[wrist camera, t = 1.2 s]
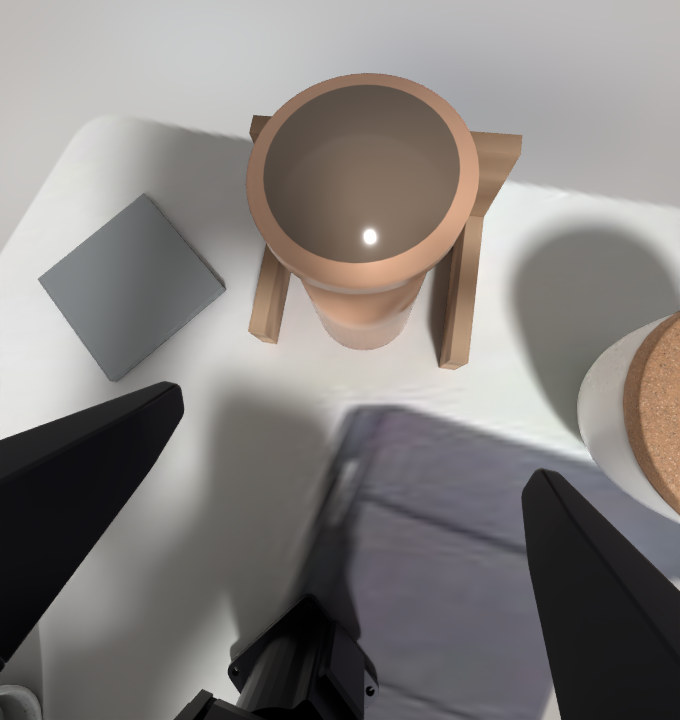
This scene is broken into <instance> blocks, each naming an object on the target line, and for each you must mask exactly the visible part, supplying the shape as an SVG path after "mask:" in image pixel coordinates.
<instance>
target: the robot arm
mask: <svg viewBox="0 0 680 720" xmlns="http://www.w3.org/2000/svg"><path fill="white" fill-rule="evenodd" d="M183 414H184V403H183V396H182V390H181V387H180V386H179V385H178V384H175V383H171V382H166V381H163V382H160V383H157V384H154V385H151V386H149V387H146V388H143V389H140V390H138V391H135V392H132V393H129V394H126V395H124V396H121V397H118V398H115V399H113V400H110V401H107V402H104V403H102V404H99V405H96V406H93V407H90V408H88V409H85V410H82V411H79V412H77V413H74V414H71V415H68V416H66V417H63V418H60V419H57V420H54V421H52V422H49V423H46V424H43V425H41V426H38V427H35V428H32V429H30V430H27V431H24V432H21V433H18V434H16V435H13V436H10V437H7V438H5V439H2V440H0V672H1V671H2V670H3V668H4V667H5V663H7V662H8V661H9V660H10V658H11V657H12V656H13V654H14V653H15V652H16V650H17V649H18V648H19V646H20V645H21V644H22V642H23V641H24V640H25V638H26V637H27V635H28V634H29V633H30V631H31V630H32V629H33V627H34V626H35V625H36V623H37V622H38V621H39V619H40V618H41V617H42V615H43V614H44V613H45V611H46V610H47V609H48V607H49V606H50V605H51V603H52V602H53V600H54V599H55V598H56V596H57V595H58V594H59V592H60V591H61V590H62V588H63V587H64V586H65V584H66V583H67V582H68V580H69V579H70V578H71V576H72V575H73V574H74V572H75V571H76V569H77V568H78V567H79V565H80V564H81V563H82V561H83V560H84V559H85V557H86V556H87V555H88V553H89V552H90V551H91V549H92V548H93V547H94V545H95V544H96V543H97V541H98V540H99V539H100V537H101V536H102V534H103V533H104V532H105V530H106V529H107V528H108V526H109V525H110V524H111V522H112V521H113V520H114V518H115V517H116V516H117V514H118V513H119V512H120V510H121V509H122V508H123V506H124V505H125V504H126V502H127V501H128V499H129V498H130V497H131V495H132V494H133V493H134V491H135V490H136V489H137V487H138V486H139V485H140V483H141V482H142V481H143V479H144V478H145V477H146V475H147V474H148V472H149V471H150V470H151V468H152V467H153V465H154V464H155V462H156V461H157V459H158V457H159V456H160V454H161V452H162V451H163V449H164V447H165V446H166V444H167V442H168V441H169V439H170V437H171V436H172V434H173V432H174V430H175V429H176V427H177V425H178V424H179V422H180V420H181V419H182V417H183ZM521 499H522V510H523V519H524V529H525V539H526V549H527V557H528V565H529V570H530V575H531V580H532V585H533V590H534V594H535V599H536V604H537V608H538V613H539V618H540V622H541V627H542V632H543V636H544V641H545V646H546V651H547V655H548V660H549V665H550V669H551V674H552V679H553V683H554V688H555V693H556V697H557V702H558V706H559V711H560V716H561V720H680V591H679V590H678V589H677V588H676V587H675V586H674V585H673V584H672V583H671V582H670V581H669V580H668V579H667V578H666V577H665V576H664V575H663V574H662V573H661V572H660V571H659V570H658V569H657V568H656V567H655V566H654V565H653V564H652V563H651V562H650V561H649V560H648V559H647V558H646V557H644V556H643V555H642V554H641V553H640V552H639V551H638V550H637V549H636V548H635V547H634V546H633V545H632V544H631V543H630V542H629V541H628V540H627V539H626V538H625V537H624V536H623V535H622V534H621V533H620V532H619V531H618V530H617V529H616V528H615V527H614V526H613V525H612V524H611V523H610V522H609V521H608V520H607V519H606V518H605V517H604V516H603V515H602V514H601V513H600V512H599V511H597V510H596V509H595V508H594V507H593V506H592V505H591V504H590V503H589V502H588V501H587V500H586V499H585V498H584V497H583V496H582V495H581V494H580V493H579V492H578V491H577V490H576V489H575V488H574V487H573V486H572V485H571V484H570V483H569V482H568V481H567V480H566V479H565V478H564V477H563V476H562V475H561V474H559V473H558V472H556V471H552V470H548V469H544V468H538V469H537V470H535V472H534V473H533V475H532V476H531V478H530V480H529V481H528V483H527V484H526V486H525V487H524V489H523V492H522V498H521ZM305 602H310V603H311V604H312V607H307V606H306V605H305ZM234 667H238V668H239V669H240V671H236V670H235V668H234ZM228 675H229V678H230V679H231V681H232V682H233V684H234V685H235V687H236V688H237V690H238V691H239V693H240V694H241V695H240V697H239V699H238V701H237V703H236V706H235V705H232V704H230V703H228V702H226V701H223V700H221V699H216V698H214V697H213V694H212V693H210V692H208V691H206V690H203V689H202V690H201V691H200V692H199V693H198V694H197V696H196V697H195V698H194V699H193V700H192V701H191V702H190V703H188V704H187V705H186V706H185V708H184V709H183V710H182V711H181V712H180V713H179V714H178V716H177V717H176V718H175V719H174V720H364V710H365V709H366V708H367V707H368V706H369V705H371V704H372V703H373V702H374V701H375V700H376V699H377V697H378V695H379V685H378V682H377V680H376V678H375V677H374V676H373V674H372V673H371V671H370V670H369V669H368V667H367V666H366V665H365V657H364V656H363V654H362V653H361V652H360V650H359V649H358V647H357V646H356V645H355V643H354V642H353V641H352V639H351V638H350V637H349V635H348V634H347V633H346V631H345V630H344V629H343V627H342V626H341V625H340V623H339V622H338V621H336V620H332V619H331V618H330V616H329V615H328V614H327V612H326V611H325V609H324V608H323V607H322V605H321V604H320V603H319V601H318V600H317V599H316V597H315V596H314V595H312V594H306V595H304V596H303V597H302V598H300V599H299V600H298V601H297V602H296V603H295V604H294V605H293V606H292V607H291V608H289V609H288V610H287V611H286V612H285V613H284V614H283V615H282V616H281V617H279V618H278V619H277V620H276V621H275V622H274V623H273V624H272V625H271V626H269V627H268V628H267V629H266V630H265V631H264V632H263V633H262V634H261V635H260V636H258V637H257V638H256V639H255V640H254V641H253V642H252V643H251V644H250V645H248V646H247V647H246V648H245V649H244V650H243V651H242V652H241V653H240V654H239V655H237V656H236V657H235V658H234V659H233V660H232V662H231V663H230V665H229V668H228ZM368 686H372V687H373V688H374V689H373V690H372V691H369V690H367V689H366V688H367V687H368Z"/></svg>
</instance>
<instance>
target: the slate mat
mask: <svg viewBox="0 0 680 720" xmlns="http://www.w3.org/2000/svg"><path fill="white" fill-rule="evenodd" d="M38 280H39V282H40V283H41V285H42V286H43V287H44V289H45V290H46V292H47V293H48V294H49V296H50V297H51V299H52V300H53V301H54V303H55V304H56V306H57V307H58V308H59V310H60V311H61V313H62V314H63V315H64V317H65V318H66V320H67V321H68V323H69V324H70V325H71V327H72V328H73V330H74V331H75V332H76V334H77V335H78V337H79V338H80V339H81V341H82V342H83V344H84V345H85V346H86V348H87V349H88V351H89V352H90V353H91V355H92V356H93V358H94V359H95V360H96V362H97V363H98V365H99V366H100V367H101V369H102V370H103V372H104V373H105V375H106V376H107V377H108V379H109V380H110V381H114V382H117V381H118V380H119V379H120V378H122V377H123V376H124V375H125V374H126V373H128V372H129V371H130V370H131V369H132V368H134V367H135V366H136V365H137V364H138V363H140V362H141V361H142V360H143V359H144V358H146V357H147V356H148V355H149V354H150V353H152V352H153V351H154V350H155V349H156V348H158V347H159V346H160V345H161V344H162V343H163V342H165V341H166V340H167V339H168V338H169V337H171V336H172V335H173V334H174V333H175V332H177V331H178V330H179V329H180V328H181V327H183V326H184V325H185V324H186V323H187V322H189V321H190V320H191V319H192V318H193V317H195V316H196V315H197V314H198V313H199V312H201V311H202V310H203V309H204V308H205V307H207V306H208V305H209V304H210V303H211V302H212V301H214V300H215V299H216V298H217V297H218V296H220V295H221V294H222V293H223V292H224V291H226V289H225V288H224V287H223V286H222V285H221V283H220V282H219V281H218V280H217V279H216V277H215V276H214V275H213V274H212V273H211V271H210V270H209V269H208V268H207V267H206V266H205V264H204V263H203V262H202V261H201V260H200V258H199V257H198V256H197V255H196V254H195V253H194V251H193V250H192V249H191V248H190V247H189V245H188V244H187V243H186V242H185V241H184V239H183V238H182V237H181V236H180V235H179V234H178V232H177V231H176V230H175V229H174V228H173V226H172V225H171V224H170V223H169V222H168V220H167V219H166V218H165V217H164V216H163V215H162V213H161V212H160V211H159V210H158V209H157V207H156V206H155V205H154V204H153V203H152V202H151V200H150V199H149V198H148V197H147V196H146V195H145V194H142V195H141V196H140V197H139V198H137V199H136V200H135V201H134V202H133V203H131V204H130V205H129V206H128V207H126V208H125V209H124V210H123V211H121V212H120V213H119V214H118V215H116V216H115V217H114V218H113V219H111V220H110V221H109V222H108V223H107V224H105V225H104V226H103V227H102V228H100V229H99V230H98V231H97V232H95V233H94V234H93V235H92V236H90V237H89V238H88V239H87V240H85V241H84V242H83V243H82V244H81V245H79V246H78V247H77V248H76V249H74V250H73V251H72V252H71V253H69V254H68V255H67V256H66V257H64V258H63V259H62V260H61V261H59V262H58V263H57V264H56V265H54V266H53V267H52V268H51V269H50V270H48V271H47V272H46V273H45V274H43V275H42V276H41V277H40V278H38Z"/></svg>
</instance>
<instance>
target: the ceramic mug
mask: <svg viewBox="0 0 680 720" xmlns="http://www.w3.org/2000/svg"><path fill="white" fill-rule="evenodd" d="M0 720H42V715H41V706H40V704H39V701H38V699H37V697H36V696H35V695H34V694H33V693H32V692H31V691H30V689H28V688H25V687H23V686H20V685H2V686H0Z"/></svg>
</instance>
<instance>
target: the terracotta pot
mask: <svg viewBox="0 0 680 720" xmlns="http://www.w3.org/2000/svg"><path fill="white" fill-rule="evenodd" d="M478 183H479V161H478V155H477V151H476V146H475V144H474V141H473V138H472V136H471V133H470V131H469V129H468V128H467V126H466V124H465V122H464V121H463V119H462V118H461V117H460V116H459V114H458V113H457V112H456V110H455V109H454V108H453V107H452V106H451V105H449V103H448V102H447V101H446V100H444V99H443V98H442V97H440V96H439V95H438V94H436V93H435V92H433V91H432V90H430V89H428V88H426V87H424V86H423V85H420V84H418V83H416V82H413V81H411V80H408V79H404V78H401V77H397V76H392V75H385V74H373V73H363V74H351V75H346V76H340V77H336V78H333V79H329V80H326V81H324V82H321V83H318V84H316V85H314V86H312V87H309V88H308V89H306V90H304V91H303V92H301V93H299V94H297V95H296V96H295V97H293V98H292V99H290V100H289V101H288V102H286V103H285V104H284V105H283V106H282V107H281V108H280V109H279V110H278V111H277V112H276V113H275V114H274V115H273V116H272V117H271V119H270V120H269V121H268V122H267V124H266V125H265V127H264V128H263V130H262V131H261V133H260V134H259V136H258V138H257V140H256V142H255V144H254V147H253V150H252V152H251V155H250V158H249V163H248V168H247V179H246V189H247V199H248V203H249V207H250V211H251V214H252V216H253V219H254V222H255V224H256V226H257V227H258V229H259V231H260V233H261V234H262V236H263V238H264V240H265V241H266V243H267V245H268V246H269V248H270V250H271V251H272V253H273V254H274V255H275V257H276V258H277V259H278V260H279V262H281V263H282V264H283V265H284V266H285V267H286V268H287V269H288V270H289V271H290V272H292V273H293V274H294V275H296V276H297V277H298V278H300V279H301V281H302V283H303V285H304V287H305V289H306V291H307V293H308V296H309V298H310V300H311V302H312V304H313V306H314V308H315V310H316V312H317V314H318V316H319V318H320V320H321V322H322V324H323V326H324V328H325V330H326V331H327V332H328V334H329V335H330V336H331V337H332V338H333V339H334V340H335V341H337V342H338V343H340V344H341V345H343V346H345V347H348V348H351V349H355V350H372V349H376V348H379V347H382V346H384V345H386V344H388V343H390V342H391V341H392V340H394V339H395V338H396V337H397V336H398V335H399V334H400V332H401V331H402V330H403V328H404V326H405V324H406V322H407V319H408V317H409V315H410V312H411V310H412V307H413V305H414V302H415V300H416V298H417V295H418V293H419V290H420V288H421V286H422V283H423V281H424V278H425V276H426V274H427V272H428V271H429V270H431V269H432V268H433V267H434V266H435V265H437V264H438V263H439V262H440V261H441V260H442V259H443V258H444V257H445V255H446V254H447V253H448V252H449V250H450V249H451V248H452V246H453V245H454V243H455V241H456V240H457V238H458V236H459V234H460V233H461V231H462V229H463V227H464V225H465V223H466V221H467V219H468V217H469V215H470V212H471V210H472V207H473V205H474V202H475V198H476V194H477V190H478Z"/></svg>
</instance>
